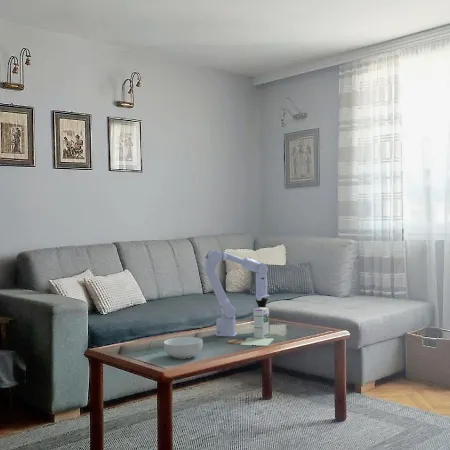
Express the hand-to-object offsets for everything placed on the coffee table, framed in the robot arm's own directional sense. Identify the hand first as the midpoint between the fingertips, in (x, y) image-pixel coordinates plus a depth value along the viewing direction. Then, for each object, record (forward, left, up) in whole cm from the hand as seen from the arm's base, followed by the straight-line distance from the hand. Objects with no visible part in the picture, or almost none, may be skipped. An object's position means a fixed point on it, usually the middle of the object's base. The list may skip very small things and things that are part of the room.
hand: (262, 312), depth 298 cm
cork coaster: (-8, -24, -10) cm, 27 cm away
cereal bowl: (-23, -57, -11) cm, 62 cm away
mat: (+2, -23, -10) cm, 25 cm away
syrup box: (+2, -12, -10) cm, 16 cm away
